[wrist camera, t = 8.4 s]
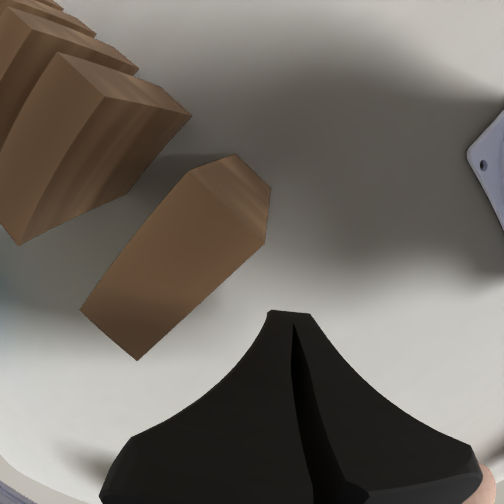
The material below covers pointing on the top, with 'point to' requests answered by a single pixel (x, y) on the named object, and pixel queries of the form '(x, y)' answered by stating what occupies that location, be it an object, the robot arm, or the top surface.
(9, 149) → the domino
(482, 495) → the egg
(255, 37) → the top surface
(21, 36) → the domino
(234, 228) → the domino
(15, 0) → the domino
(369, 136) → the top surface
